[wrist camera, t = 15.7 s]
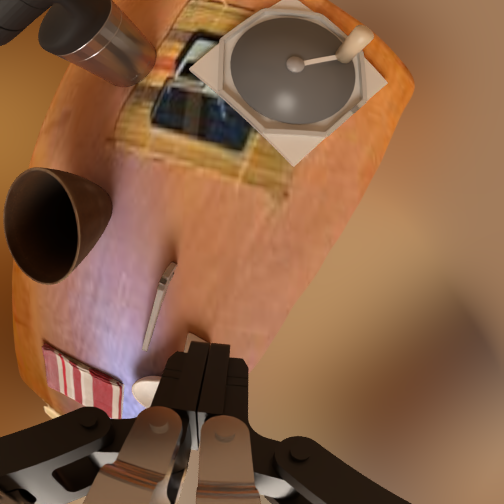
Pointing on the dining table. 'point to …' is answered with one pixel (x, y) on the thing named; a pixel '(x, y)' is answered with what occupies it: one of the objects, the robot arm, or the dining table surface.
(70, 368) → the dish towel
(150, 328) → the caliper
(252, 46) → the dial
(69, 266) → the plant pot
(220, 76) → the dial plate
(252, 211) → the dining table surface
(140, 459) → the robot arm
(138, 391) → the spoon rest
